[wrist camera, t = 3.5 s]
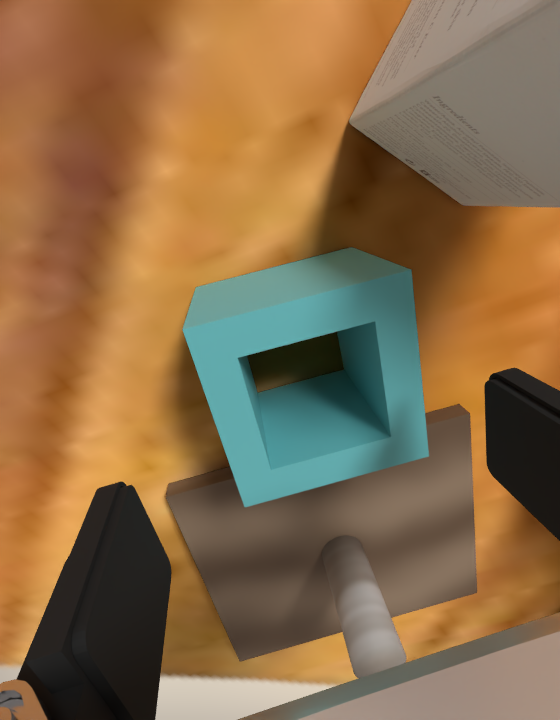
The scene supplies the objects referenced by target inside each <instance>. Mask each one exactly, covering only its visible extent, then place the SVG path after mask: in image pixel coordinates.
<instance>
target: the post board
mask: <svg viewBox="0 0 560 720" xmlns="http://www.w3.org/2000/svg"><path fill="white" fill-rule="evenodd" d="M425 419H426V430H427V440H428V451H429V456H428V457H425V458H421V459H418V460H414V461H410V462H407V463H403V464H400V465H396V466H392V467H389V468H385V469H382V470H378V471H374V472H371V473H367V474H364V475H360V476H357V477H353V478H349V479H346V480H342V481H339V482H335V483H331V484H328V485H324V486H321V487H317V488H313V489H310V490H306V491H303V492H299V493H295V494H292V495H288V496H285V497H281V498H277V499H274V500H270V501H267V502H263V503H259V504H256V505H252V506H249V507H244V504H243V501H242V498H241V496H240V493H239V490H238V487H237V484H236V481H235V478H234V476H233V473H232V470H231V467H228V468H224V469H221V470H217V471H213V472H210V473H206V474H202V475H199V476H195V477H192V478H188V479H184V480H181V481H177V482H173V483H170V484H168V488H167V493H166V499H167V501H168V503H169V505H170V508H171V510H172V512H173V514H174V517H175V519H176V521H177V523H178V525H179V528H180V530H181V532H182V534H183V537H184V539H185V541H186V543H187V545H188V548H189V550H190V552H191V554H192V557H193V559H194V561H195V563H196V565H197V568H198V570H199V572H200V574H201V576H202V579H203V581H204V583H205V585H206V588H207V590H208V592H209V594H210V596H211V599H212V601H213V603H214V605H215V608H216V610H217V612H218V614H219V616H220V619H221V621H222V623H223V625H224V628H225V630H226V632H227V634H228V636H229V639H230V641H231V643H232V645H233V648H234V650H235V652H236V654H237V656H238V659H239V661H244V660H247V659H251V658H254V657H258V656H261V655H264V654H268V653H271V652H275V651H278V650H282V649H285V648H288V647H292V646H295V645H299V644H302V643H306V642H309V641H313V640H316V639H319V638H323V637H326V636H330V635H333V634H337V633H340V632H343V635H344V639H345V642H346V646H347V650H348V653H349V657H350V661H351V664H352V668H353V672H354V674H355V676H356V677H358V678H362V677H365V676H368V675H371V674H374V673H377V672H380V671H383V670H386V669H389V668H392V667H395V666H398V665H401V664H404V663H405V662H406V654H405V652H404V649H403V647H402V644H401V642H400V639H399V636H398V634H397V631H396V629H395V626H394V624H393V621H392V619H391V618H392V617H395V616H399V615H402V614H406V613H409V612H412V611H416V610H419V609H423V608H426V607H430V606H433V605H436V604H440V603H443V602H447V601H450V600H454V599H457V598H461V597H464V596H467V595H471V594H474V593H477V577H476V552H475V527H474V502H473V478H472V453H471V428H470V413H469V412H468V411H467V410H465V409H464V408H463V407H462V406H461V405H460V404H458V405H454V406H450V407H447V408H443V409H439V410H436V411H432V412H429V413H425Z"/></svg>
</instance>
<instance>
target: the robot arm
mask: <svg viewBox="0 0 560 720" xmlns="http://www.w3.org/2000/svg"><path fill="white" fill-rule="evenodd" d="M485 420H486V455H487V466H488V469H489V471H490V473H491V474H492V476H493V477H494V478H495V479H496V480H497V481H498V482H499V483H500V484H501V485H502V486H503V487H504V488H505V489H507V490H508V491H509V492H510V493H511V494H512V495H513V496H514V497H515V498H516V499H517V500H518V501H519V502H520V503H521V504H522V505H523V506H524V507H525V508H526V509H527V510H528V511H529V512H530V513H531V514H532V515H533V516H534V517H536V518H537V519H538V520H539V521H540V522H541V523H542V524H543V525H544V526H545V527H546V528H547V529H548V530H549V531H550V532H551V533H552V534H553V535H554V536H555V537H556V538H557V539H558V540H559V541H560V391H559V390H557V389H555V388H553V387H551V386H549V385H547V384H546V383H544V382H542V381H540V380H538V379H536V378H534V377H532V376H531V375H529V374H527V373H525V372H523V371H521V370H519V369H517V368H511V369H507V370H504V371H500V372H497V373H493V374H492V375H491V376H490V378H489V381H487V382H486V383H485ZM170 583H171V565H170V561H169V559H168V557H167V554H166V552H165V550H164V548H163V546H162V544H161V542H160V540H159V538H158V536H157V534H156V532H155V529H154V527H153V525H152V523H151V521H150V519H149V517H148V515H147V513H146V511H145V509H144V507H143V505H142V502H141V500H140V498H139V496H138V494H137V492H136V490H135V488H134V487H133V486H132V485H129V486H126V484H125V483H124V482H118V483H115V484H111V485H108V486H104V487H101V488H99V489H97V491H96V492H95V495H94V497H93V500H92V502H91V505H90V507H89V509H88V512H87V514H86V517H85V519H84V522H83V524H82V527H81V529H80V531H79V534H78V536H77V539H76V541H75V544H74V546H73V548H72V551H71V553H70V556H69V557H68V559H67V560H66V562H65V564H64V566H63V569H62V571H61V574H60V576H59V579H58V581H57V583H56V586H55V588H54V591H53V593H52V595H51V598H50V600H49V603H48V605H47V607H46V610H45V612H44V615H43V617H42V620H41V622H40V624H39V627H38V629H37V632H36V634H35V636H34V639H33V641H32V644H31V646H30V648H29V651H28V653H27V656H26V658H25V661H24V663H23V665H22V668H21V670H20V673H19V675H18V677H17V680H11V681H7V682H3V683H1V684H0V720H155V716H156V707H157V698H158V690H159V681H160V672H161V663H162V654H163V645H164V636H165V628H166V619H167V610H168V601H169V592H170ZM238 720H560V612H559V613H556V614H553V615H550V616H547V617H544V618H540V619H537V620H534V621H531V622H528V623H525V624H522V625H519V626H516V627H513V628H510V629H507V630H504V631H501V632H498V633H495V634H492V635H488V636H485V637H482V638H479V639H476V640H473V641H470V642H467V643H464V644H461V645H458V646H455V647H452V648H449V649H446V650H443V651H440V652H437V653H434V654H431V655H428V656H425V657H422V658H419V659H416V660H413V661H410V662H407V663H404V664H401V665H398V666H395V667H392V668H389V669H386V670H383V671H380V672H377V673H374V674H371V675H368V676H365V677H362V678H359V679H356V680H353V681H350V682H347V683H344V684H341V685H338V686H335V687H332V688H329V689H326V690H324V691H321V692H318V693H315V694H312V695H309V696H306V697H303V698H300V699H297V700H294V701H291V702H288V703H285V704H282V705H279V706H276V707H273V708H270V709H268V710H264V711H262V712H259V713H256V714H253V715H250V716H247V717H244V718H241V719H238Z"/></svg>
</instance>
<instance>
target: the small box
mask: <svg viewBox="0 0 560 720" xmlns="http://www.w3.org/2000/svg"><path fill="white" fill-rule="evenodd" d="M349 122H350V124H351V125H352V126H353V127H355V128H356V129H358V130H359V131H360V132H362V133H363V134H364V135H366V136H367V137H369V138H370V139H372V140H373V141H374V142H376V143H377V144H379V145H380V146H381V147H382V148H384V149H385V150H387V151H388V152H390V153H391V154H392V155H394V156H395V157H396V158H398V159H399V160H401V161H402V162H404V163H405V164H406V165H408V166H409V167H411V168H412V169H413V170H415V171H416V172H418V173H419V174H420V175H422V176H423V177H425V178H426V179H427V180H429V181H430V182H432V183H433V184H434V185H436V186H437V187H438V188H439V189H441V190H442V191H444V192H445V193H446V194H448V195H449V196H450V197H452V198H453V199H454V200H456V201H457V202H458V203H460V204H461V205H464V206H513V207H560V0H412V1H411V3H410V5H409V7H408V9H407V11H406V13H405V14H404V16H403V18H402V20H401V22H400V24H399V26H398V28H397V29H396V31H395V33H394V35H393V37H392V39H391V41H390V43H389V45H388V46H387V48H386V50H385V52H384V54H383V56H382V58H381V60H380V61H379V63H378V65H377V67H376V69H375V71H374V73H373V75H372V77H371V79H370V80H369V82H368V84H367V86H366V88H365V90H364V92H363V94H362V96H361V98H360V100H359V102H358V104H357V106H356V108H355V110H354V112H353V113H352V115H351V117H350V120H349Z"/></svg>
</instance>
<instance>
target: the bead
mask: <svg viewBox="0 0 560 720" xmlns="http://www.w3.org/2000/svg"><path fill="white" fill-rule="evenodd" d="M182 330H183V333H184V336H185V338H186V341H187V344H188V347H189V350H190V353H191V356H192V358H193V361H194V364H195V367H196V370H197V373H198V376H199V378H200V381H201V384H202V387H203V390H204V393H205V396H206V398H207V401H208V404H209V407H210V410H211V413H212V416H213V418H214V421H215V424H216V427H217V430H218V433H219V436H220V438H221V441H222V444H223V447H224V450H225V453H226V456H227V458H228V461H229V464H230V467H231V470H232V473H233V476H234V478H235V481H236V484H237V487H238V490H239V493H240V496H241V498H242V501H243V504H244V507H249V506H252V505H256V504H259V503H263V502H267V501H270V500H274V499H277V498H281V497H285V496H288V495H292V494H295V493H299V492H303V491H306V490H310V489H313V488H317V487H321V486H324V485H328V484H331V483H335V482H339V481H342V480H346V479H349V478H353V477H357V476H360V475H364V474H367V473H371V472H374V471H378V470H382V469H385V468H389V467H392V466H396V465H400V464H403V463H407V462H410V461H414V460H418V459H421V458H425V457H428V456H429V451H428V440H427V430H426V419H425V408H424V398H423V387H422V376H421V366H420V355H419V345H418V334H417V323H416V313H415V302H414V291H413V281H412V270H411V269H408V268H406V267H403V266H401V265H398V264H395V263H393V262H390V261H387V260H385V259H382V258H379V257H377V256H374V255H371V254H369V253H366V252H364V251H361V250H358V249H356V248H353V247H350V248H346V249H342V250H338V251H334V252H330V253H326V254H323V255H319V256H315V257H311V258H307V259H303V260H299V261H296V262H292V263H288V264H284V265H280V266H276V267H272V268H269V269H265V270H261V271H257V272H253V273H249V274H245V275H241V276H238V277H234V278H230V279H226V280H222V281H218V282H214V283H211V284H207V285H203V286H199V287H196V289H195V292H194V295H193V298H192V301H191V304H190V307H189V311H188V314H187V317H186V320H185V323H184V326H183V329H182ZM333 332H337V334H338V340H339V345H340V351H341V356H342V362H343V367H344V370H340V371H337V372H333V373H329V374H325V375H322V376H318V377H314V378H310V379H307V380H303V381H299V382H296V383H292V384H288V385H284V386H281V387H277V388H273V389H270V390H266V391H262V392H257V389H256V385H255V382H254V378H253V375H252V371H251V368H250V364H249V361H248V357H247V355H250V354H254V353H258V352H262V351H265V350H269V349H273V348H277V347H280V346H284V345H288V344H292V343H296V342H299V341H303V340H307V339H311V338H314V337H318V336H322V335H326V334H329V333H333Z"/></svg>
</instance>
